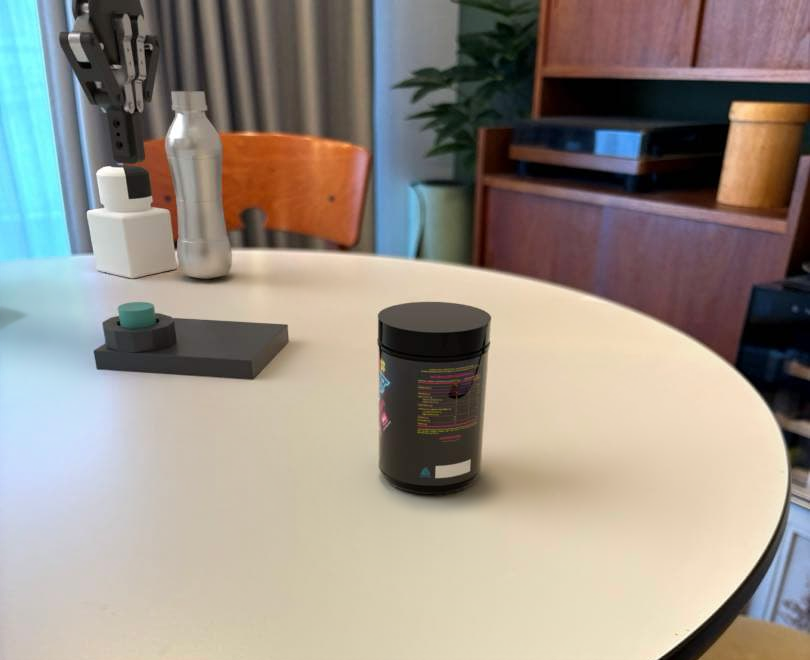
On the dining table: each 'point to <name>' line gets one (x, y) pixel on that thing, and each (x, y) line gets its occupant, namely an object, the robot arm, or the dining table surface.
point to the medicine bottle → (130, 225)
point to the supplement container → (432, 395)
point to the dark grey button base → (191, 347)
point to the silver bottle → (197, 188)
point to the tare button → (137, 314)
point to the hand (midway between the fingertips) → (129, 162)
